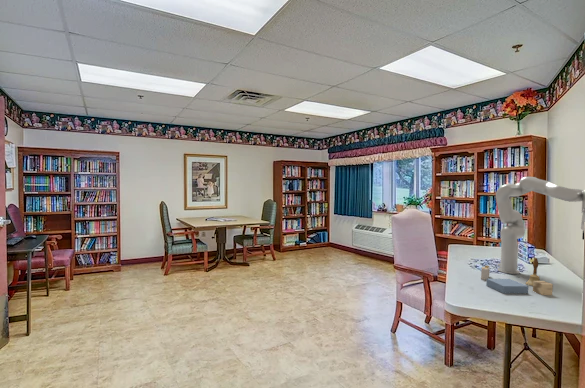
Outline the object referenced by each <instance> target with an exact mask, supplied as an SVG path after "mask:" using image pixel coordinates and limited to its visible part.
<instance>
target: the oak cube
mask: <svg viewBox="0 0 585 388" xmlns="http://www.w3.org/2000/svg"><path fill="white" fill-rule="evenodd" d="M553 284H554V283H550V282H547V281H545V280H540V281H533V286H532V292H533V291H534V292H533V293H535V292H536V294H537V295H538V294H539V295H540V294H541V296H553V290H554V289H553Z"/></svg>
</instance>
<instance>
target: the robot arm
mask: <svg viewBox="0 0 585 388" xmlns="http://www.w3.org/2000/svg"><path fill="white" fill-rule="evenodd" d="M531 192H534V193H538V194H541V195H545V196H547V197H551V198H555V199H558V200H562V201H565V202H574V203H579V202H581V214H582V215H581V223H580V229H581V230H582V240H583V241H584V222H585V189H579V188H569V187H564V186H561V185H558V184H554V182H551V181H549V180H545V179H541V178H537V177H535V176H524V177H521V179H520V180H519V182H517V183H516V184H514V183H513V184H512V183H506V184H503V185H501V186H500V187H499V188H497V190H496V192H495V201H496V204H497V211H498V214H499V215H498V217H499V219H500V222H501V223H502V224H506V226H504V227H502V228H501V230H500V239H501V240H500V242H501V243H500V244H501V247H500V263H498V264H497V266H498V267H497V271H498V272H499V273H504V274H510V275H511V274H512V275H519V274H520V273H521V271H520V270H518V259H519V258H518V254H519V244H518V240H519V239H522V238H523V237H524V236H525V234H526V233H525V232H526V230H525V226H524V220H523V217H522V214H521V213H520V211H518V210H516V209H513V208H514V207H513V203H512V200H511V199H510V197H512V198H513V197H515V198H516V197H520V196H523V195H525V194H527V193H531Z"/></svg>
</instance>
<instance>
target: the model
mask: <svg viewBox="0 0 585 388" xmlns="http://www.w3.org/2000/svg"><path fill="white" fill-rule="evenodd" d="M490 269H491V267H490V266H489V265H486V264H485V265H484V266H482V267H481V274H480V276H481V277H480V280H485V281H487V279H490Z"/></svg>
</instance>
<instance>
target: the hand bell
mask: <svg viewBox="0 0 585 388" xmlns="http://www.w3.org/2000/svg"><path fill="white" fill-rule="evenodd" d="M538 266H539V260H538V258H536V257H534V259H533V262H532V267H533V271H532V274H530V275H529V279H528V280H527V281H526V282H525V285H526V286H532V287H533V281H541V280H540V276H539V275H538Z"/></svg>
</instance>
